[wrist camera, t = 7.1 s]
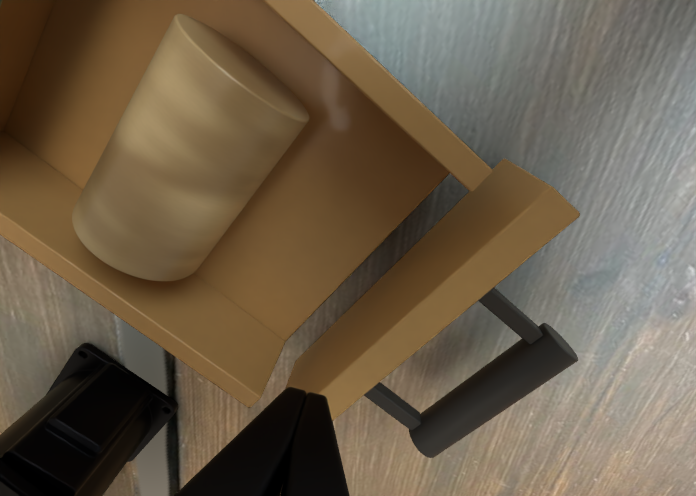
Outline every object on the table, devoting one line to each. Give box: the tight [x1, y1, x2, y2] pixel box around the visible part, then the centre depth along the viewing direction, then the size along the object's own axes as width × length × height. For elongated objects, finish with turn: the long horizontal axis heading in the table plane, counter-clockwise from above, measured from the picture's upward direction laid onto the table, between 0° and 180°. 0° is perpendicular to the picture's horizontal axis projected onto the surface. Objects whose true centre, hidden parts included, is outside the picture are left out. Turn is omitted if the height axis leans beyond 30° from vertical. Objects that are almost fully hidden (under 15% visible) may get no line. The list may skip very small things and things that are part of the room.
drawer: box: [0, 0, 580, 458], centre depth 14 cm, size 22×13×5 cm, turn 50°
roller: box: [72, 14, 309, 281], centre depth 12 cm, size 7×4×4 cm
